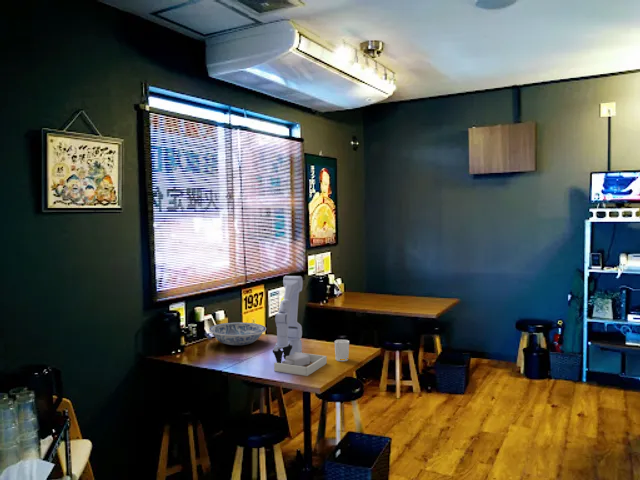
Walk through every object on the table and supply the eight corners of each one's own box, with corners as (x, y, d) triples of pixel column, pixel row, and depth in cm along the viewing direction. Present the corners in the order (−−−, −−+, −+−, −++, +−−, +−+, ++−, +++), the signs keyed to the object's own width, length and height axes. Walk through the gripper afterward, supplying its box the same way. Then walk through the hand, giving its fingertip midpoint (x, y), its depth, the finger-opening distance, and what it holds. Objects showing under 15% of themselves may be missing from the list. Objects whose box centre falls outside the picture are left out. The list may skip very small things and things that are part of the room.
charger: (276, 367, 249) (298, 361, 259) (287, 371, 242) (310, 364, 253) (276, 357, 249) (298, 352, 259) (287, 361, 242) (310, 355, 252)
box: (295, 359, 261) (295, 352, 261) (326, 363, 254) (326, 356, 253) (274, 370, 242) (274, 363, 241) (307, 376, 234) (307, 367, 234)
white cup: (348, 357, 265) (348, 339, 264) (349, 361, 257) (349, 343, 256) (334, 357, 264) (334, 339, 264) (335, 362, 257) (335, 343, 256)
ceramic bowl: (262, 351, 277) (262, 334, 276) (202, 351, 277) (202, 334, 277) (269, 337, 311) (269, 321, 311) (216, 336, 312) (216, 321, 311)
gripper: (282, 331, 260) (283, 356, 260) (268, 337, 247) (268, 364, 247) (294, 333, 257) (294, 358, 257) (280, 339, 244) (280, 366, 244)
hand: (282, 361), depth 252 cm, fingers open, 7 cm apart
